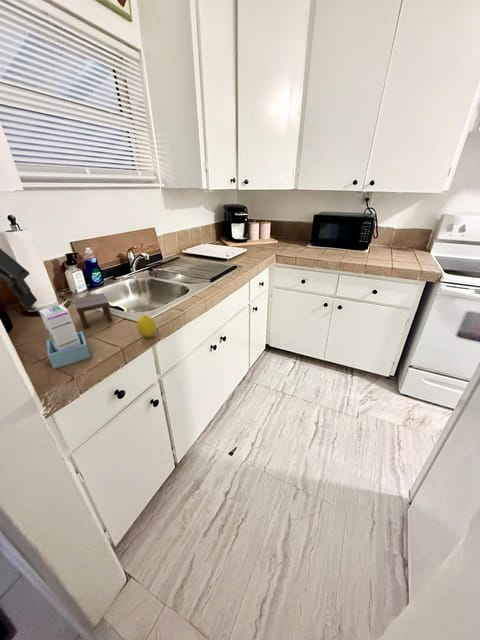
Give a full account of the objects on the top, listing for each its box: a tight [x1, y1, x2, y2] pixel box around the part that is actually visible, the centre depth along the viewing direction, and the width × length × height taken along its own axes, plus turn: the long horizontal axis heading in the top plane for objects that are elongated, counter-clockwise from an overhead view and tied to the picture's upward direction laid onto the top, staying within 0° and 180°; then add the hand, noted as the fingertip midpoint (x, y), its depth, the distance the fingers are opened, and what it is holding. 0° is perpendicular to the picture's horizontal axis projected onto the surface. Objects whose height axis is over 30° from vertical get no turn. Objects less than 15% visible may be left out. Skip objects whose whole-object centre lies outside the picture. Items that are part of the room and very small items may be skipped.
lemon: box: [136, 314, 156, 338], centre depth 84 cm, size 6×6×8 cm
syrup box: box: [38, 304, 81, 352], centre depth 73 cm, size 6×6×14 cm
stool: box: [73, 292, 114, 330], centre depth 94 cm, size 10×10×8 cm
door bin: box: [46, 331, 91, 370], centre depth 76 cm, size 9×9×4 cm
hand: (3, 301), depth 58 cm, fingers open, 13 cm apart
